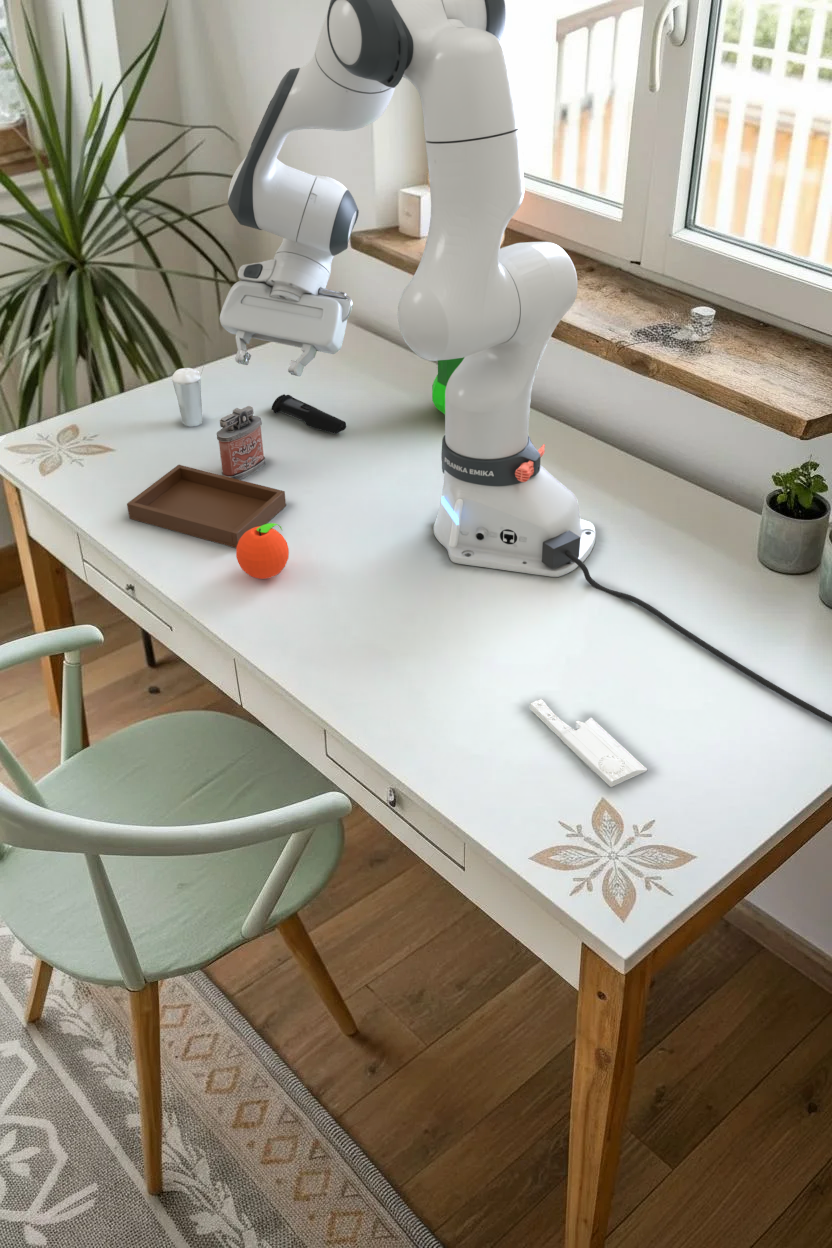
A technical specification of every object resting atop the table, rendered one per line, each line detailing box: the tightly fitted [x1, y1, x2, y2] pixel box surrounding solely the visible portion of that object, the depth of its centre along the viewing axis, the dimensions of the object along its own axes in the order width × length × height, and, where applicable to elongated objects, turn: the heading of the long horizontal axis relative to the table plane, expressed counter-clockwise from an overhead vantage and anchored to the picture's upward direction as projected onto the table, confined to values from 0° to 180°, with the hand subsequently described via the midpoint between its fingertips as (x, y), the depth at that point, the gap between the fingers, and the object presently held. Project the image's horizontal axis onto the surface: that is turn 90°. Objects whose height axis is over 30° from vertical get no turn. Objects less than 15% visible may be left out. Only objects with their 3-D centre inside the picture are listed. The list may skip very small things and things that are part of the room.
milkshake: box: [171, 365, 205, 428], centre depth 195 cm, size 4×5×10 cm
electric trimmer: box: [271, 393, 347, 435], centre depth 196 cm, size 4×16×3 cm, turn 47°
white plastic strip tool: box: [529, 698, 648, 788], centre depth 134 cm, size 5×15×1 cm, turn 30°
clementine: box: [235, 522, 290, 580], centre depth 160 cm, size 8×7×7 cm
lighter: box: [216, 405, 267, 480], centre depth 182 cm, size 8×3×10 cm, turn 141°
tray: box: [126, 464, 287, 549], centre depth 174 cm, size 19×13×2 cm
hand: (267, 368), depth 183 cm, fingers open, 8 cm apart
